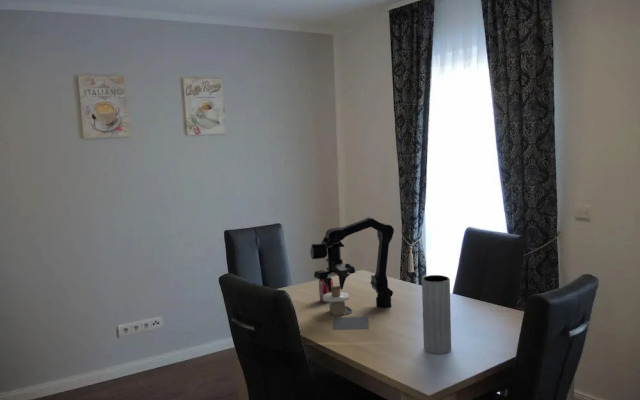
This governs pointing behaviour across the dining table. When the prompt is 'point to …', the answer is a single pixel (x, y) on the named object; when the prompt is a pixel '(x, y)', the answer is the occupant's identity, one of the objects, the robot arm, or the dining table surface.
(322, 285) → the soda can
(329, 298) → the lid
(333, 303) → the ceramic mug
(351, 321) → the mat
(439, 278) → the vase
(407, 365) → the dining table surface
